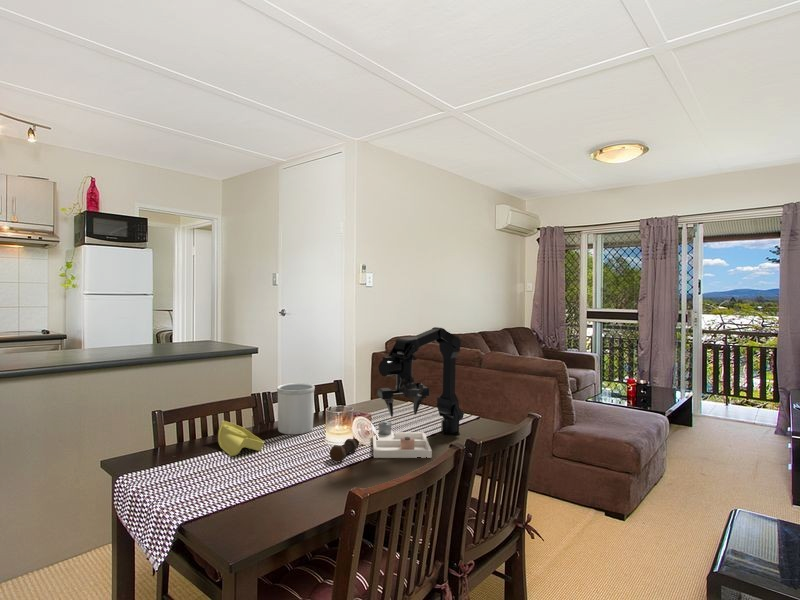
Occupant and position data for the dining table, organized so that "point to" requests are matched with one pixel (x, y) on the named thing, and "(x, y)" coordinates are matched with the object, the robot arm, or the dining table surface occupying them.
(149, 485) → the dining table surface
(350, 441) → the dark brown dumbbell
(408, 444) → the pink cube
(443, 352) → the robot arm
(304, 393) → the utensil holder
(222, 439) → the plastic component
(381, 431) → the grey cylinder
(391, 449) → the white flat rectangular tray
